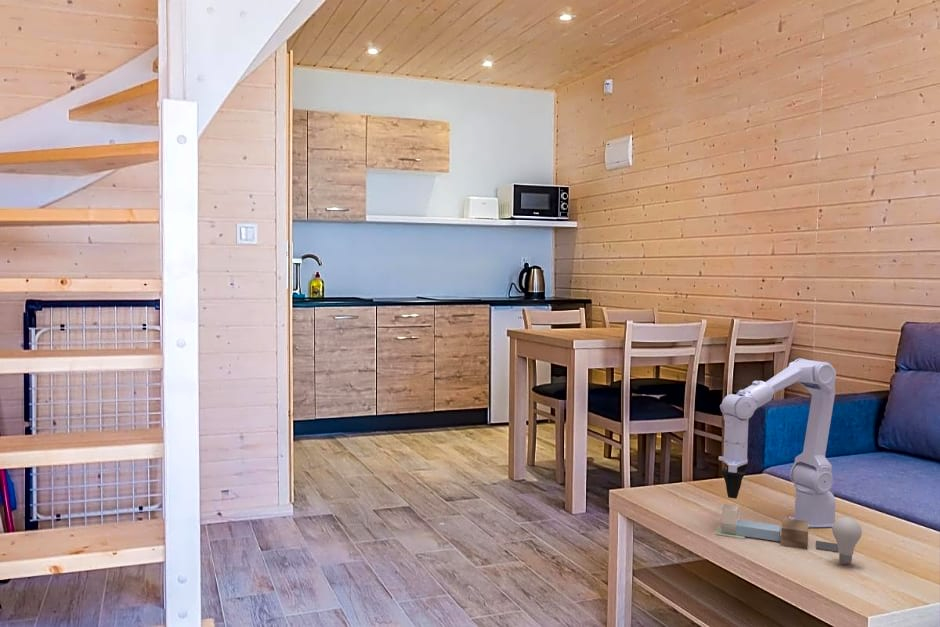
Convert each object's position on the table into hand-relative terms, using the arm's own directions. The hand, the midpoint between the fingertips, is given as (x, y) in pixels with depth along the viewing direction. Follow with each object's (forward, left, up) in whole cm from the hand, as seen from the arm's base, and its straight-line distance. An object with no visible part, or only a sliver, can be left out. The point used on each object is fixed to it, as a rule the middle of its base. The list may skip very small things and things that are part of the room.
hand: (733, 493), depth 197 cm
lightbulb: (-16, +23, -10) cm, 30 cm away
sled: (-3, +3, -9) cm, 11 cm away
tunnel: (-12, +8, -10) cm, 18 cm away
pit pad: (-19, +12, -10) cm, 25 cm away
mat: (+1, +1, -10) cm, 10 cm away
